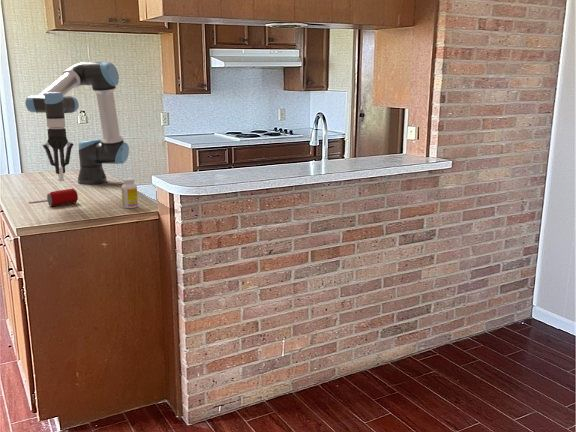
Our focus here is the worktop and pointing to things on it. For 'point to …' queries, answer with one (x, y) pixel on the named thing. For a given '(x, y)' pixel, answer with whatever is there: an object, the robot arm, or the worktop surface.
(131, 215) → the worktop surface
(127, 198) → the supplement bottle
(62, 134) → the robot arm
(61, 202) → the beverage can
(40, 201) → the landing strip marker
